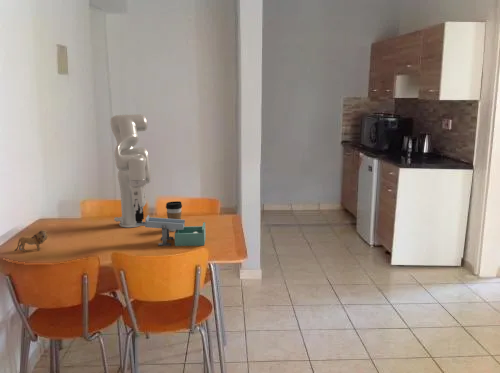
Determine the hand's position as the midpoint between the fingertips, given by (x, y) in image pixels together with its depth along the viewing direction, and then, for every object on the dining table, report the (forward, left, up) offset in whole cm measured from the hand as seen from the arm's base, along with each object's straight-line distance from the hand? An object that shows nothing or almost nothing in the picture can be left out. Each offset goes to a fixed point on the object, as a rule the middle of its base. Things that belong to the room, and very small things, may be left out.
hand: (139, 219), depth 229 cm
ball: (+27, 0, -8) cm, 28 cm away
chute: (+10, 0, -3) cm, 10 cm away
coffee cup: (+14, +20, -12) cm, 27 cm away
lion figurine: (-49, -8, -12) cm, 51 cm away
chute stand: (+12, 0, -11) cm, 17 cm away
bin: (+24, 0, -11) cm, 27 cm away
